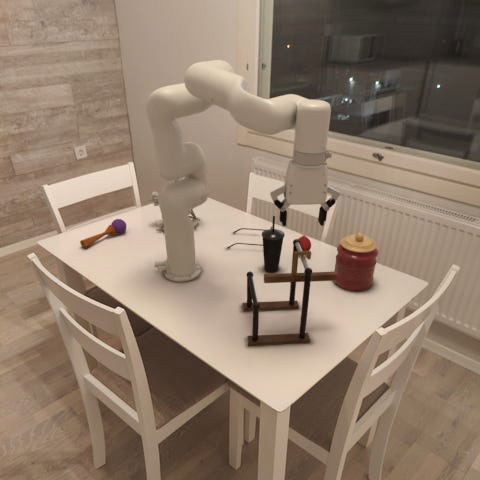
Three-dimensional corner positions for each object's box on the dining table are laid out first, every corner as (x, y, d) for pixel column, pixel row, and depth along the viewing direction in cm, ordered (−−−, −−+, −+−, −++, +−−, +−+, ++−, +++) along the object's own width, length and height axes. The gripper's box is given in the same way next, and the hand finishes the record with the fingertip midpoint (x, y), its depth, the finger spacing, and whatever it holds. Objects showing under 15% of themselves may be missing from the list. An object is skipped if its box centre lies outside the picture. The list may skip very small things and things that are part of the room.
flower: (165, 208, 197) (146, 165, 176) (214, 206, 194) (201, 162, 173) (157, 244, 187) (136, 203, 166) (209, 242, 183) (194, 201, 162)
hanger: (264, 283, 121) (265, 254, 116) (263, 280, 122) (264, 251, 117) (336, 280, 122) (340, 252, 117) (335, 277, 123) (339, 249, 119)
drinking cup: (280, 275, 152) (284, 222, 141) (258, 273, 153) (260, 220, 142) (283, 264, 158) (286, 212, 147) (262, 262, 159) (264, 210, 149)
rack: (248, 346, 121) (249, 273, 108) (242, 305, 137) (242, 238, 124) (309, 342, 122) (318, 270, 110) (296, 303, 138) (302, 236, 126)
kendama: (75, 236, 168) (117, 216, 180) (81, 250, 171) (122, 229, 183) (84, 238, 164) (126, 217, 176) (90, 252, 167) (131, 231, 179)
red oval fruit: (293, 250, 167) (294, 231, 163) (308, 250, 168) (310, 230, 163) (296, 258, 162) (297, 238, 158) (311, 257, 163) (313, 238, 158)
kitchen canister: (347, 267, 157) (354, 221, 147) (379, 281, 149) (389, 233, 139) (325, 281, 149) (330, 233, 140) (358, 296, 141) (366, 247, 132)
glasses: (270, 252, 166) (271, 240, 163) (227, 249, 168) (226, 237, 166) (274, 236, 178) (274, 224, 175) (233, 233, 180) (233, 221, 177)
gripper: (340, 152, 108) (331, 217, 117) (270, 152, 107) (266, 218, 116) (349, 161, 102) (339, 229, 111) (274, 162, 100) (270, 231, 110)
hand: (302, 223), depth 114 cm, fingers open, 9 cm apart
